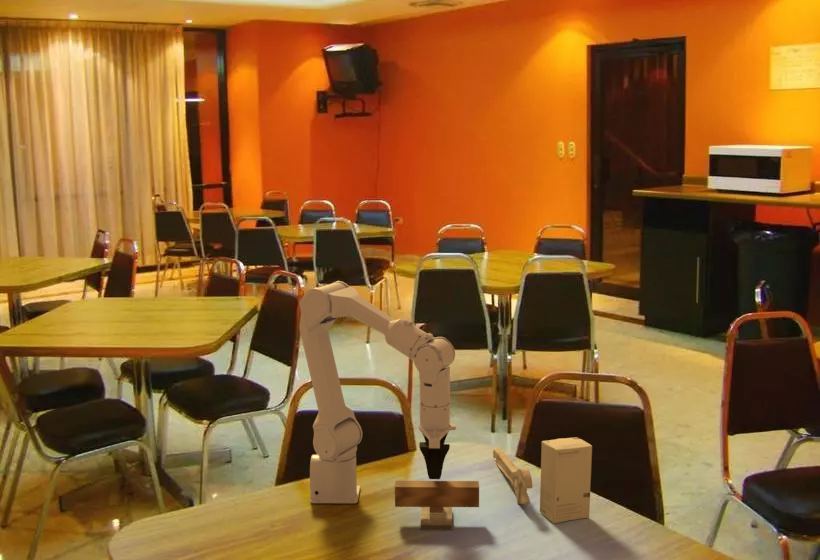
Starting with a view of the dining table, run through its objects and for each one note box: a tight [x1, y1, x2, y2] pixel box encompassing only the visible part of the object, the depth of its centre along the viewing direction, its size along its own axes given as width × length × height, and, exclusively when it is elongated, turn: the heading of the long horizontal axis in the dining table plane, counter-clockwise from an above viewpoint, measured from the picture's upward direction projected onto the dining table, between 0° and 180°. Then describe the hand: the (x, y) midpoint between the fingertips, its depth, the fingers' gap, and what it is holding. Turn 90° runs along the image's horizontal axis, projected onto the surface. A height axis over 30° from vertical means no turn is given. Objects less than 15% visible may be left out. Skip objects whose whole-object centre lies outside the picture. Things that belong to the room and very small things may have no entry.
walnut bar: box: [394, 480, 480, 508], centre depth 172 cm, size 16×3×4 cm, turn 88°
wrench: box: [492, 448, 533, 506], centre depth 189 cm, size 8×2×30 cm
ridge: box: [419, 507, 453, 531], centre depth 173 cm, size 6×8×4 cm
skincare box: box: [539, 436, 593, 525], centre depth 174 cm, size 8×6×15 cm
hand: (434, 470), depth 172 cm, fingers open, 7 cm apart
